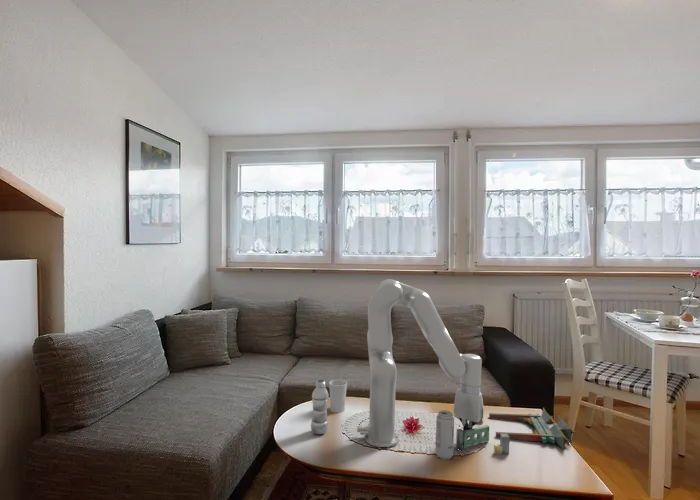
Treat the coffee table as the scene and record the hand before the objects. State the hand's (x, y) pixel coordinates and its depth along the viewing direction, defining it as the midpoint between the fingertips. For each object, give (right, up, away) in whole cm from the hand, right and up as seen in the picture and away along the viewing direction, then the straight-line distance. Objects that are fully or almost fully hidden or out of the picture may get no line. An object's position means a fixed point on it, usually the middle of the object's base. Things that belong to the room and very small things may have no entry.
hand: (467, 436), depth 150 cm
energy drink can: (-11, -2, -11) cm, 16 cm away
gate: (+2, -2, -2) cm, 4 cm away
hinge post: (-5, -2, -6) cm, 8 cm away
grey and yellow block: (+10, -2, -7) cm, 12 cm away
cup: (-50, -1, +26) cm, 56 cm away
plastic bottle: (-56, -1, +4) cm, 56 cm away
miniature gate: (+29, -3, +10) cm, 31 cm away
